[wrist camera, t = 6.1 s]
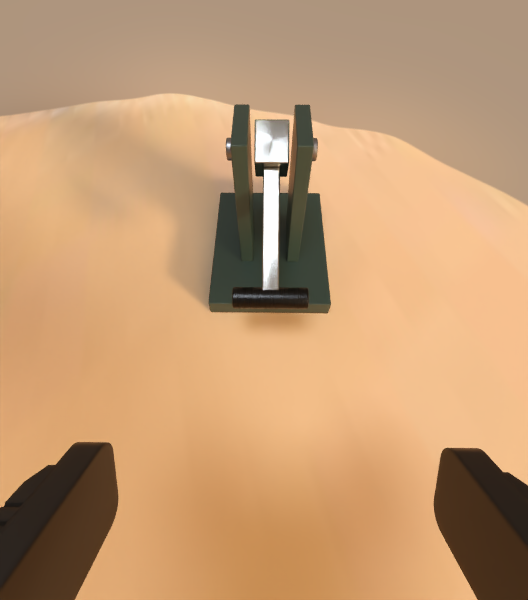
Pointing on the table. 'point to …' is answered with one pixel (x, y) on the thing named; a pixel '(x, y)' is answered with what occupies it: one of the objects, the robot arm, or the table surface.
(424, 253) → the table surface
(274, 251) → the lever
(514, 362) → the table surface
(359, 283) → the table surface
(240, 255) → the bracket
